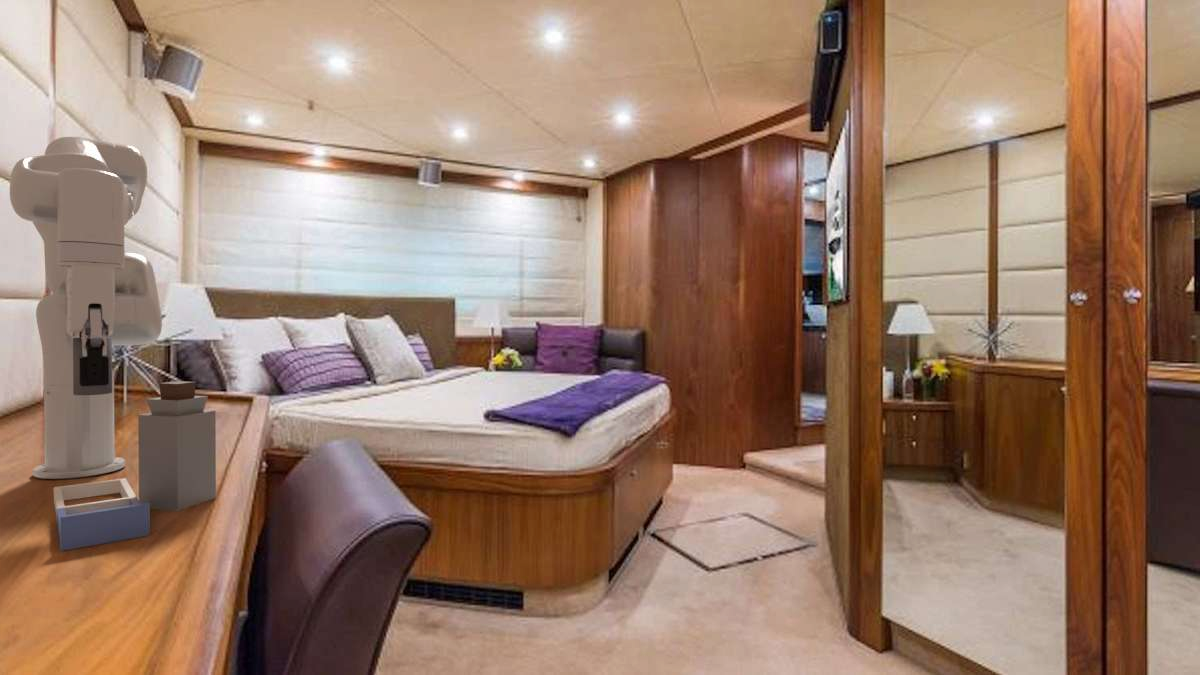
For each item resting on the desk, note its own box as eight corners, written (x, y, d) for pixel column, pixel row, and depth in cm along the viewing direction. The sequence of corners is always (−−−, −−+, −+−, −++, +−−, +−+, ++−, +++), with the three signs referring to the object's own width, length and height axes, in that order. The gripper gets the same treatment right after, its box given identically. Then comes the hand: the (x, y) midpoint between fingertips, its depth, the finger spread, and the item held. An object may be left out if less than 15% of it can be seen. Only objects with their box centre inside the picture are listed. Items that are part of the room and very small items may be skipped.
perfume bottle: (177, 510, 90) (177, 385, 90) (139, 507, 92) (138, 384, 91) (215, 497, 97) (215, 381, 96) (179, 494, 98) (178, 379, 98)
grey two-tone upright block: (72, 392, 92) (72, 337, 91) (110, 390, 95) (110, 337, 94) (74, 396, 88) (73, 339, 88) (113, 393, 91) (113, 338, 91)
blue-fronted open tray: (53, 500, 94) (53, 474, 94) (125, 490, 100) (125, 465, 100) (61, 551, 74) (60, 517, 74) (149, 535, 80) (149, 504, 80)
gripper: (55, 258, 94) (56, 379, 95) (60, 252, 82) (61, 391, 83) (118, 261, 100) (119, 377, 100) (131, 256, 87) (132, 388, 88)
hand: (93, 382), depth 91 cm, fingers closed on grey two-tone upright block, 4 cm apart
